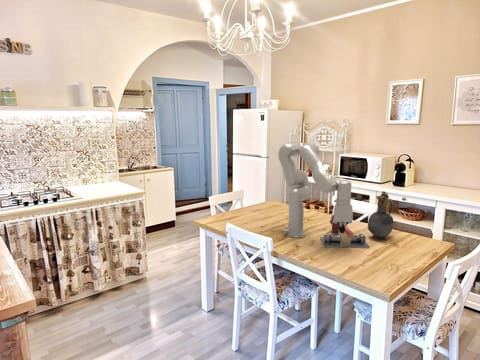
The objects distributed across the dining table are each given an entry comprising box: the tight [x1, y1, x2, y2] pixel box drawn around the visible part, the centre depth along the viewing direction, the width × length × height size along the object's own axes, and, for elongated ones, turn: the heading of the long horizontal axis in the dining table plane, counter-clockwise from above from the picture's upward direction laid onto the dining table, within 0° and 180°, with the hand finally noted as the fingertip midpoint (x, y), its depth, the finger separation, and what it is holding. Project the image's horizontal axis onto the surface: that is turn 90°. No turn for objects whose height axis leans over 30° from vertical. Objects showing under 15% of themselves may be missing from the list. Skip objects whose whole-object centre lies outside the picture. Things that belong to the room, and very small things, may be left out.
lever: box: [345, 224, 354, 238], centre depth 189 cm, size 14×3×3 cm, turn 177°
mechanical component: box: [329, 214, 343, 235], centre depth 212 cm, size 12×10×10 cm
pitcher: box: [367, 190, 394, 241], centre depth 202 cm, size 11×19×30 cm, turn 124°
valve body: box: [320, 231, 371, 249], centre depth 195 cm, size 26×14×8 cm, turn 87°
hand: (341, 232), depth 186 cm, fingers closed
